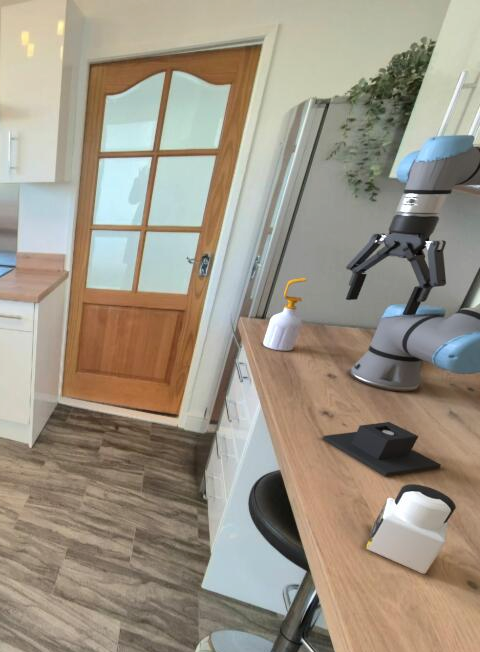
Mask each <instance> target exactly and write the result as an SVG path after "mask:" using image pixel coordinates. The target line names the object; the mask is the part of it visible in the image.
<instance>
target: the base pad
mask: <svg viewBox="0 0 480 652" xmlns="http://www.w3.org/2000/svg"><path fill="white" fill-rule="evenodd" d="M382 432H384V433H386V434H388V435H390V436H394V433H393V432H391V431H388V430H382ZM356 433H357V431H352V432H344V433H343V432H342V433H336V434H328V435H324V436H323V438H322V440H323V441H325V442H327V443H328V444H330V445H331V446H333V447H335V448H336V449H338V450H340V451H341V452H342V453H343V452H344V453H345V454H347V455H348V456H350V457H352V458H353V459H355V460H356V461H358V462H360V463H362V464H363V465H365V466H366V467H368V468H370V469H372V470H373V471H375V472H376V473H378V474H380V475H382V476H383V477H392V476H398V475H405V474H410V473H417V472H424V471H430V470H437V469H440V468H441V466H442V464H441V463H439V462H437V461H435V460H433V459H431V458H430V457H427V456H426V455H424V454H421V453H420V452H418V451H416V450H415V449H413V448H412V449H411V451H410V453H409V455H407V456H400V457H393V458H386V459H379V460H378V459H376V458H374V457H373V456H371V455H369V454H367V453H366V452H364V451H362V450H360V449H359V448H357V447H355V446H353V445H352V444H351V443H352V441H353V439H354V437H355V435H356Z"/></svg>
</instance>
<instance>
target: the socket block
mask: <svg viewBox="0 0 480 652" xmlns="http://www.w3.org/2000/svg"><path fill="white" fill-rule="evenodd" d="M382 430H388V431H391V432H393V433H394V436H390V435H388V434H386V433H384V432H382ZM356 432H357V433H356V435H355V437H354V439H353V441H352V443H351V444H352V445H353V446H355V447H357V448H359V449H360V450H362V451H364V452H366V453H367V454H369V455H371V456H373V457H374V458H376V459H378V460H379V459H386V458H393V457H400V456H407V455H409V453H410V451H411V449H412V450H413V447H414V446H415V444H416V442H417V440H418V438H419V435H416V434H415V433H413V432H411V431H409V430H407V429H405V428H403V427H401V426H399V425H397V424H394V423H392V422H390V421H385V422H377V423H369V424H362V425H358V428H357V431H356Z"/></svg>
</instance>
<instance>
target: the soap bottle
mask: <svg viewBox="0 0 480 652" xmlns="http://www.w3.org/2000/svg"><path fill="white" fill-rule="evenodd" d="M306 281H307V278H306V277H300V278H294V279H290V280H289V281H287V283H286V286H285V289H284V292H283V297H284V299H285V300H286V301H287V302H288V304H286V305H284V308H283V310H282V311H281V312H278V313H275V314H273V315H272V316H271V318H270V320H269V323H268V325H267V330H266V332H265V335H264V338H263V342H262V345H263V346H264V347H266V348H268V349H271V350H274V351H279V352H290V351H293V350H294V347H295V344H296V341H297V338H298V335H299V332H300V329H301V327H302V324H303V322H302V319H301V318H300V316H298V315H297V314H296V311H297V306H295V304H297V303H298V302H303V299H302V297H297V296H289V295H287V293H288V291H289V288H290V286H291V285H292V284H296V283H302V282H306Z"/></svg>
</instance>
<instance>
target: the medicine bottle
mask: <svg viewBox="0 0 480 652" xmlns="http://www.w3.org/2000/svg"><path fill="white" fill-rule="evenodd" d="M456 508H457V506H456V504H455V502H454V501H453V499H452V498H451V497H449V496H448V495H446V494H445V493H443V492H441V491H439V490H437V489H435V488H432V487H429V486H426V485H422V484H416V483H410V484H404V485H403V486H401V488H400V490H399V492H398V494H397V495H396V497H395V498H392V497H388V498H387V499H386V501H385V503H384V505H383V507H382V508H381V510H380V512H379V514H378V516H377V518H376V519H375V521H374V523H373V524H372V527H371V530H370V534H369V537H368V540H367V544H366V549H367V550H368V551H370V552H372V553H375V554H377V555H379V556H382V557H383V558H386V559H388V560H390V561H392V562H395V563H396V564H400V565H401V566H404V567H407V568H409V569H411V570H412V571H415V572H418V573H420V574H422V575H423V574H424V575H425V574H426V573H427V572H428V570H429V569H430V568H431V566H432V565H433V563H434V562H435V560H436V558H437V556H438V555H439V554H440V552H441V550H442V549H443V547H444V546H445V544H446V543H447V532H448V522H449V519H450V518H451V516H452V515H453V513H454V512H455V511H456Z"/></svg>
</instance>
